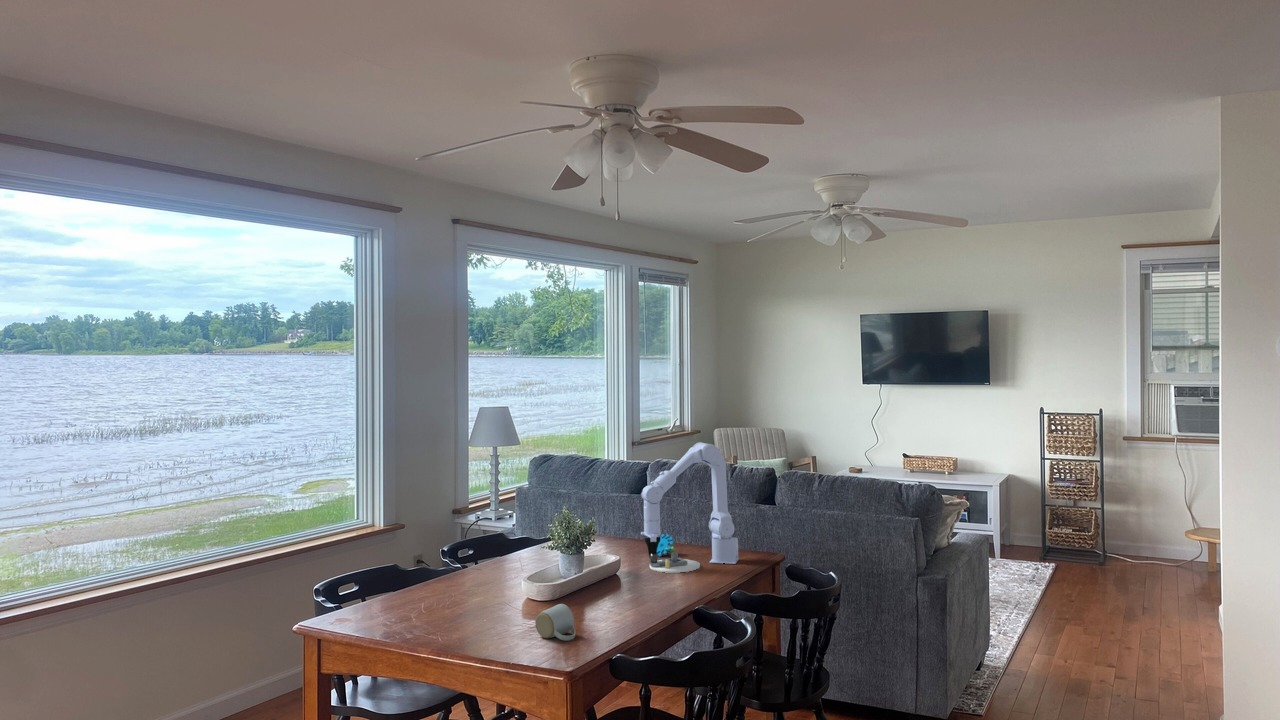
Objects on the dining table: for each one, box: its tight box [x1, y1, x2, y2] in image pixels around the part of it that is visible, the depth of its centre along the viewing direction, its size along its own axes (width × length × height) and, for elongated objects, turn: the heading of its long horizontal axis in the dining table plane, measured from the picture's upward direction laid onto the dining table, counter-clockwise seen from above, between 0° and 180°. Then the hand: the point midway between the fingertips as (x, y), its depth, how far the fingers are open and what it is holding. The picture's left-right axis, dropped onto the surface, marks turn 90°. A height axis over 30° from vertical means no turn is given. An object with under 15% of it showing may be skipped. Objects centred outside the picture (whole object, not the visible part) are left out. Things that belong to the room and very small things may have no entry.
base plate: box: [649, 551, 701, 574], centre depth 310 cm, size 18×18×5 cm
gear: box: [657, 533, 676, 558], centre depth 331 cm, size 11×6×10 cm
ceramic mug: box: [534, 603, 577, 642], centre depth 232 cm, size 11×8×8 cm
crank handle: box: [649, 553, 687, 567], centre depth 309 cm, size 13×7×4 cm, turn 112°
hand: (652, 558), depth 309 cm, fingers closed, pressing on crank handle
